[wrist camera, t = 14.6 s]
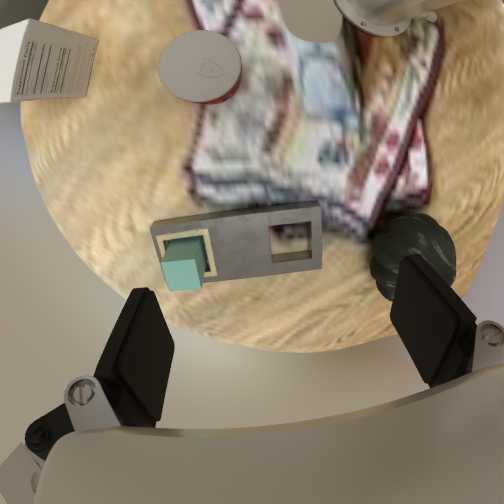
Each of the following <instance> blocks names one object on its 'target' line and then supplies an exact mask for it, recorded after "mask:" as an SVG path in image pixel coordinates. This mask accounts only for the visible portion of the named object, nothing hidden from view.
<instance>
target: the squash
mask: <svg viewBox="0 0 504 504" xmlns="http://www.w3.org/2000/svg"><path fill="white" fill-rule="evenodd" d="M373 250H374V254H375V256H374V257H373V258H372V260H371V262H370V270H371V275H372V277H373V278H374V279H375V280H376V285H377V288H378V290H379V291H380V292H381V294H382V295H383V296H384V297H385V298H386V299H388V300H389V301H392V302H393V298H394V293H395V288H396V283H397V278H398V272H399V267H400V262H401V260H403V259H404V257H405V256H406V255H412V254H420V255H421V256H422V257H423V258H424V259H425V260H426V261H427V262H428V263H429V264H430V265H431V266H432V267H433V268H434V270H435V271H436V272H437V273H438V274H439V275H440V276H441V277H442V278H443V279H444V280H445V281H446V283H447V284H448V285H449V286H450V287H451V285H452V284H453V282H454V281H455V279H456V253H455V246H454V243H453V241H452V239H451V237H450V235H449V233H448V232H447V231H446V230H445V229H444V228H443V227H441V226H440V225H439V224H438V223H437V222H436V220H434V219H433V218H432V217H430V216H429V215H426V214H421V213H420V214H416V215H413V216H402V217H398V218H395V219H393V220H391V221H390V222H389V224H388V227H387V233H382V234H379V235H377V236H376V237H375V238H374V240H373Z"/></svg>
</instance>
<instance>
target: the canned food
mask: <svg viewBox="0 0 504 504" xmlns="http://www.w3.org/2000/svg"><path fill="white" fill-rule="evenodd" d="M158 69H159V76H160V79H161V82H162V83H163V85H164V86H165V88H166V89H167V90H168V91H169V92H170V93H171V94H173V95H174V96H176V97H178V98H180V99H182V100H185V101H189V102H193V103H201V104H217V103H221V102H223V101H225V100H227V99H229V98H230V97H232V96H233V95H234V94H235V93H236V91H237V90H238V88H239V86H240V83H241V75H242V64H241V57H240V55H239V52H238V50H237V48H236V47H235V45H234V44H233V43H232V42H231V41H230V40H229V39H228V38H226V37H225V36H223V35H221V34H219V33H216V32H213V31H208V30H197V31H191V32H187V33H184V34H182V35H180V36H178V37H176V38H175V39H174V40H173V41H171V42H170V43H169V44H168V45H167V47H166V48H165V49H164V51H163V53H162V54H161V57H160V60H159V67H158Z"/></svg>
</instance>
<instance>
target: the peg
mask: <svg viewBox="0 0 504 504" xmlns="http://www.w3.org/2000/svg"><path fill="white" fill-rule="evenodd" d="M206 263H207V254H206V249H205V243H204V238H203V235H199V236H192V237H184V238H177V239H172V240H171V242H170V244H169V246H168V248H167V250H166V252H165V254H164V256H163V259H162V261H161V266H162V269H163V273H164V276H165V279H166V283H167V286H168V289H169V291H180V290H193V289H201V288H202V283H203V278H204V273H205V268H206Z"/></svg>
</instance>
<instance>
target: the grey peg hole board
mask: <svg viewBox="0 0 504 504" xmlns="http://www.w3.org/2000/svg"><path fill="white" fill-rule="evenodd" d="M307 221H308V243H309V251H301V252H293V253H284V254H276V255H271V248H270V238H269V228H268V226H272V225H280V224H289V223H298V222H307ZM150 231H151V234H152V238H153V241H154V245H155V248H156V252H157V255H158V258H159V262H160V265H161V261H162V259H163V256H164V254H165V252H166V250H167V248H168V246H169V244H170V242H169V240H170V239H177V238H184V237H192V236H199V235H203V237H204V242H205V246H206V251H207V256H208V260H209V263H206V268H205V273H204V278H203V283H206V282H216V281H225V280H234V279H242V278H251V277H260V276H268V275H276V274H284V273H292V272H300V271H308V270H315V269H322V212H321V205H320V204H319V203H318V201H308V202H298V203H289V204H280V205H271V206H262V207H254V208H246V209H238V210H230V211H223V212H215V213H208V214H201V215H194V216H187V217H181V218H174V219H168V220H161V221H155V222H154V223H153V225H152V226H151V227H150ZM161 268H162V266H161ZM162 271H163V269H162ZM163 274H164V273H163ZM164 277H165V276H164ZM165 281H166V279H165ZM166 284H167V283H166Z"/></svg>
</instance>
